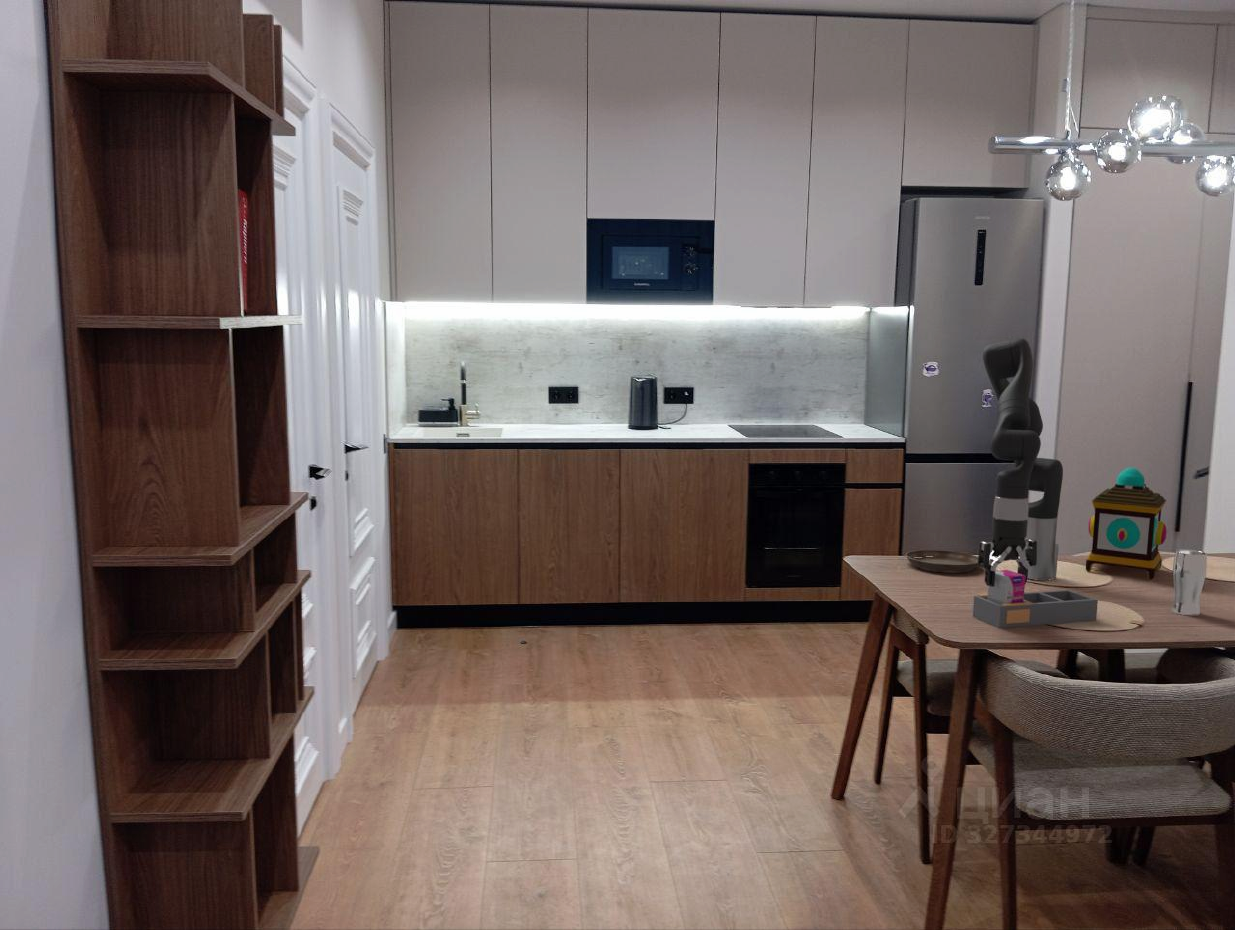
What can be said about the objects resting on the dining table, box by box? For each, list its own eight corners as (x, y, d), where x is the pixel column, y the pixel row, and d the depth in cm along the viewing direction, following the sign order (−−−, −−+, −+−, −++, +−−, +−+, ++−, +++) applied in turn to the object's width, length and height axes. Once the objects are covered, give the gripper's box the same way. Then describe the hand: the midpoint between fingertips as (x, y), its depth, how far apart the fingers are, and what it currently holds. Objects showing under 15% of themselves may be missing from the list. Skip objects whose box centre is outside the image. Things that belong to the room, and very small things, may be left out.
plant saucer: (895, 559, 293) (895, 548, 293) (962, 559, 294) (963, 548, 294) (920, 575, 273) (921, 564, 272) (992, 576, 274) (993, 564, 273)
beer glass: (1201, 618, 234) (1207, 556, 232) (1168, 613, 237) (1174, 552, 235) (1202, 611, 239) (1208, 551, 238) (1170, 607, 243) (1175, 547, 241)
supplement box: (1004, 625, 225) (1007, 576, 223) (984, 618, 230) (988, 571, 229) (1022, 622, 227) (1026, 574, 226) (1003, 616, 233) (1006, 568, 231)
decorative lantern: (1079, 572, 279) (1087, 467, 275) (1091, 560, 295) (1099, 461, 292) (1158, 583, 268) (1168, 474, 264) (1166, 569, 284) (1175, 467, 280)
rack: (1067, 609, 239) (1068, 588, 239) (1097, 620, 230) (1098, 598, 229) (972, 616, 232) (974, 594, 231) (999, 628, 222) (1001, 605, 222)
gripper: (1025, 512, 231) (1020, 579, 233) (973, 514, 227) (969, 582, 229) (1047, 518, 224) (1042, 587, 226) (994, 520, 220) (989, 590, 222)
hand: (1005, 584), depth 227 cm, fingers open, 8 cm apart
